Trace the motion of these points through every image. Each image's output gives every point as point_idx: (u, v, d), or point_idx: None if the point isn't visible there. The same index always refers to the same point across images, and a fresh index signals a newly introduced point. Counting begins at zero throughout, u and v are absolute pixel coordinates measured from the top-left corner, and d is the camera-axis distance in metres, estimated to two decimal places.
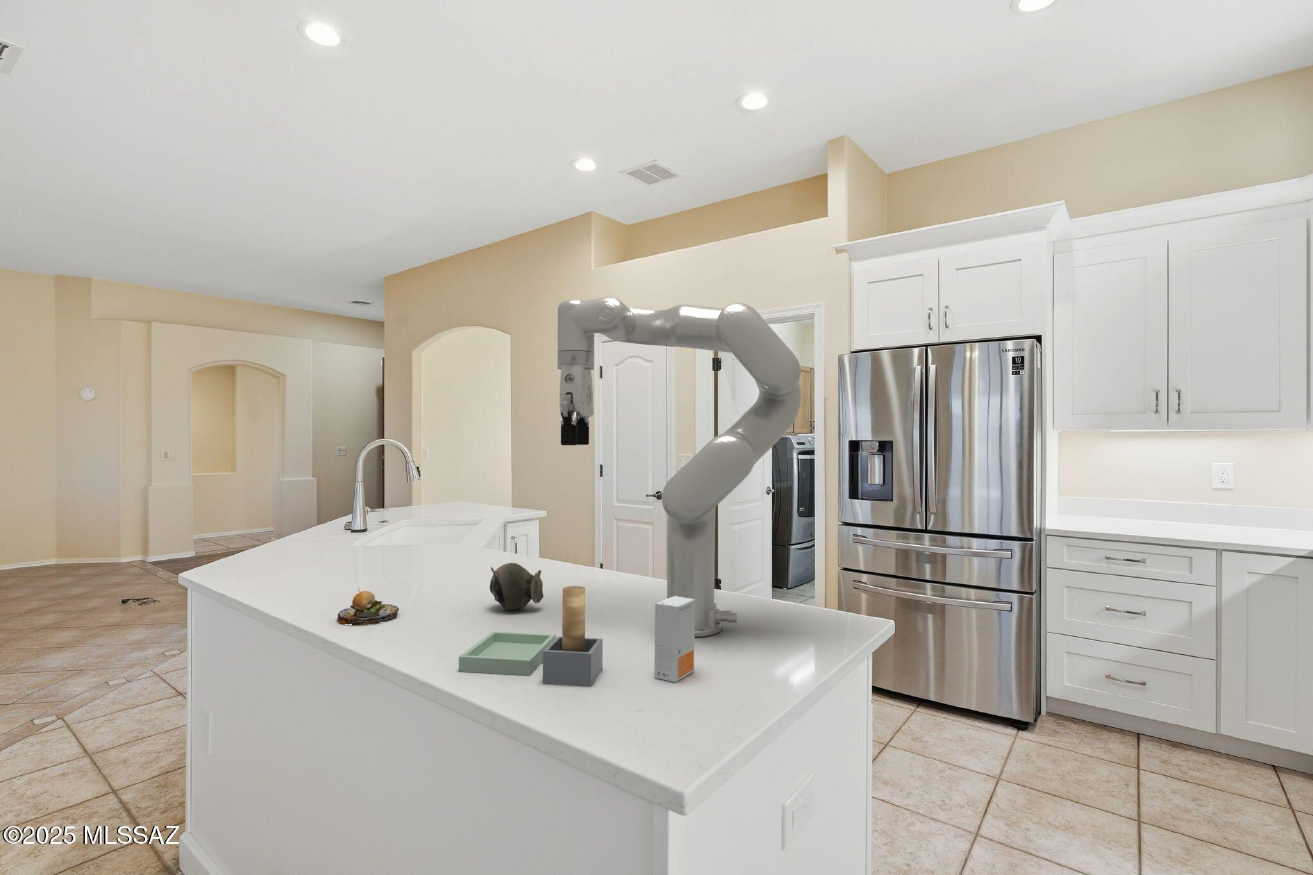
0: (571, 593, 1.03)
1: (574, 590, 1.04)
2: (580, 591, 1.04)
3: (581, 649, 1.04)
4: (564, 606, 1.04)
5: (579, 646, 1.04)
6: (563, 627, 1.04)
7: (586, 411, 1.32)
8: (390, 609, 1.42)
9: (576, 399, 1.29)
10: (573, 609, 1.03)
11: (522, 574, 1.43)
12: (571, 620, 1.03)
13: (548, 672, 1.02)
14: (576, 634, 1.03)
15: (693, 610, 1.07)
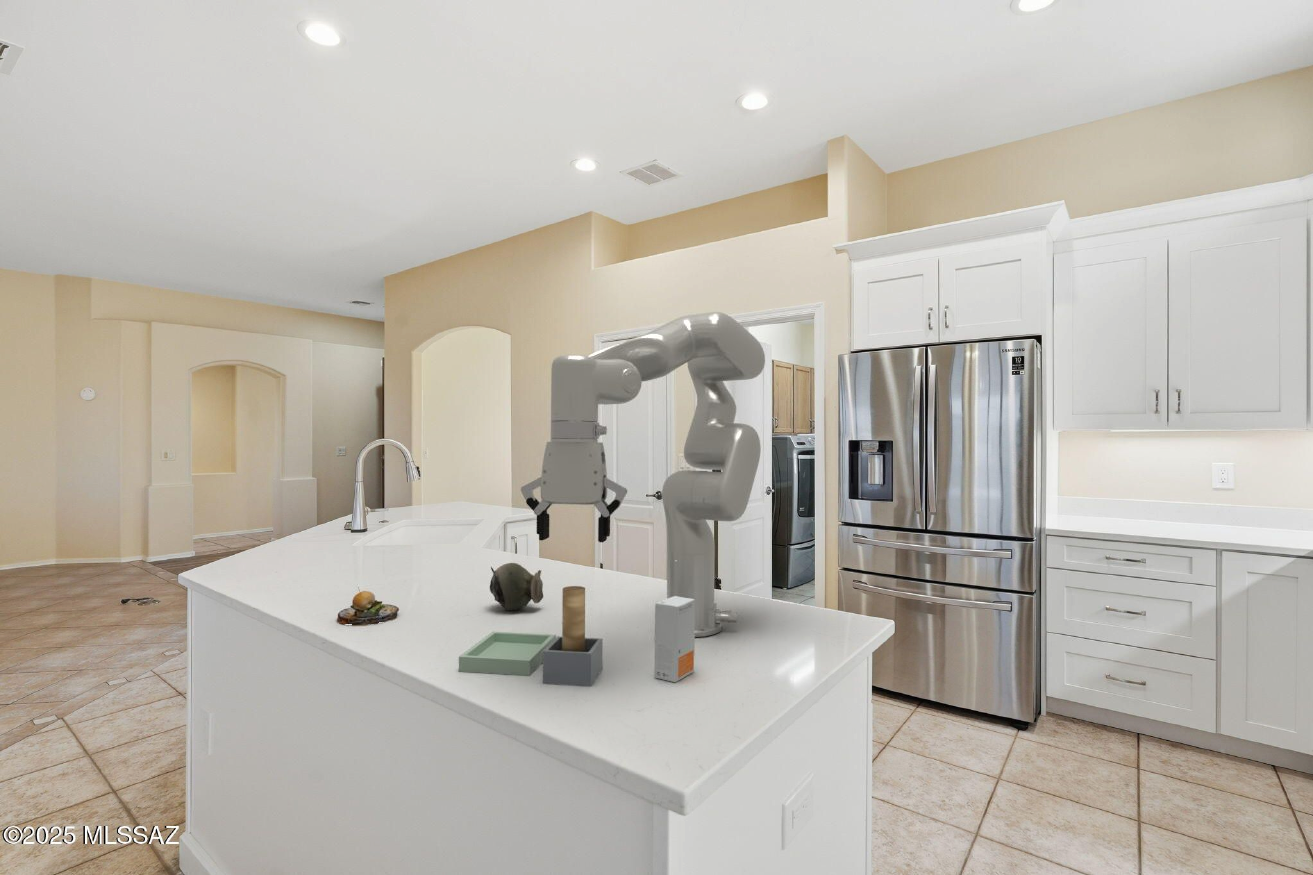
0: (571, 593, 1.03)
1: (574, 590, 1.04)
2: (580, 591, 1.04)
3: (581, 649, 1.04)
4: (564, 606, 1.04)
5: (579, 646, 1.04)
6: (563, 627, 1.04)
7: None
8: (390, 609, 1.42)
9: None
10: (573, 609, 1.03)
11: (522, 574, 1.43)
12: (571, 620, 1.03)
13: (548, 672, 1.02)
14: (576, 634, 1.03)
15: (693, 610, 1.07)
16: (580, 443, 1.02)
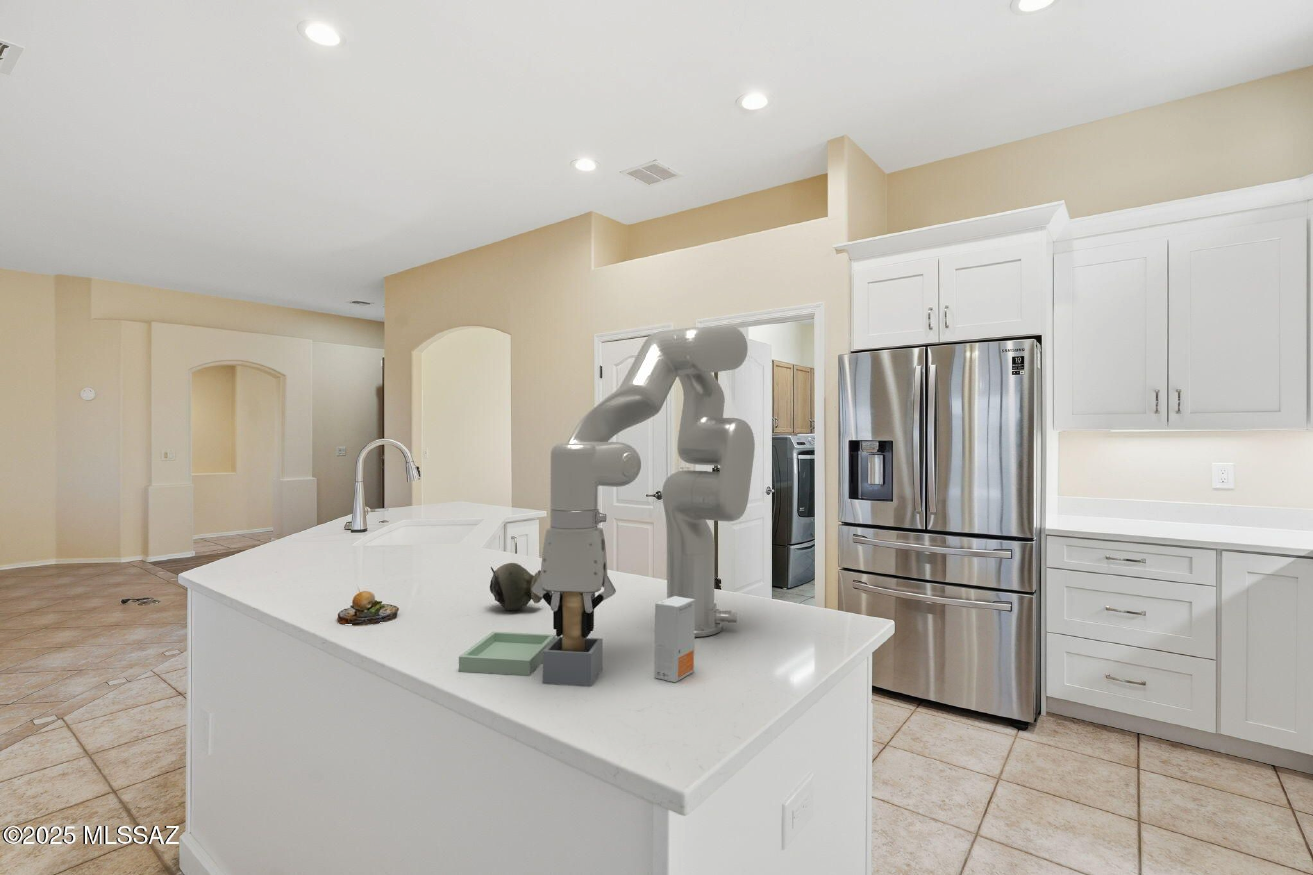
0: (571, 593, 1.03)
1: None
2: None
3: (581, 649, 1.04)
4: (564, 606, 1.04)
5: (579, 646, 1.04)
6: (563, 627, 1.04)
7: None
8: (390, 609, 1.42)
9: (606, 569, 1.06)
10: (573, 609, 1.03)
11: (522, 574, 1.43)
12: (571, 620, 1.03)
13: (548, 672, 1.02)
14: (576, 634, 1.03)
15: (693, 610, 1.07)
16: (580, 532, 1.02)
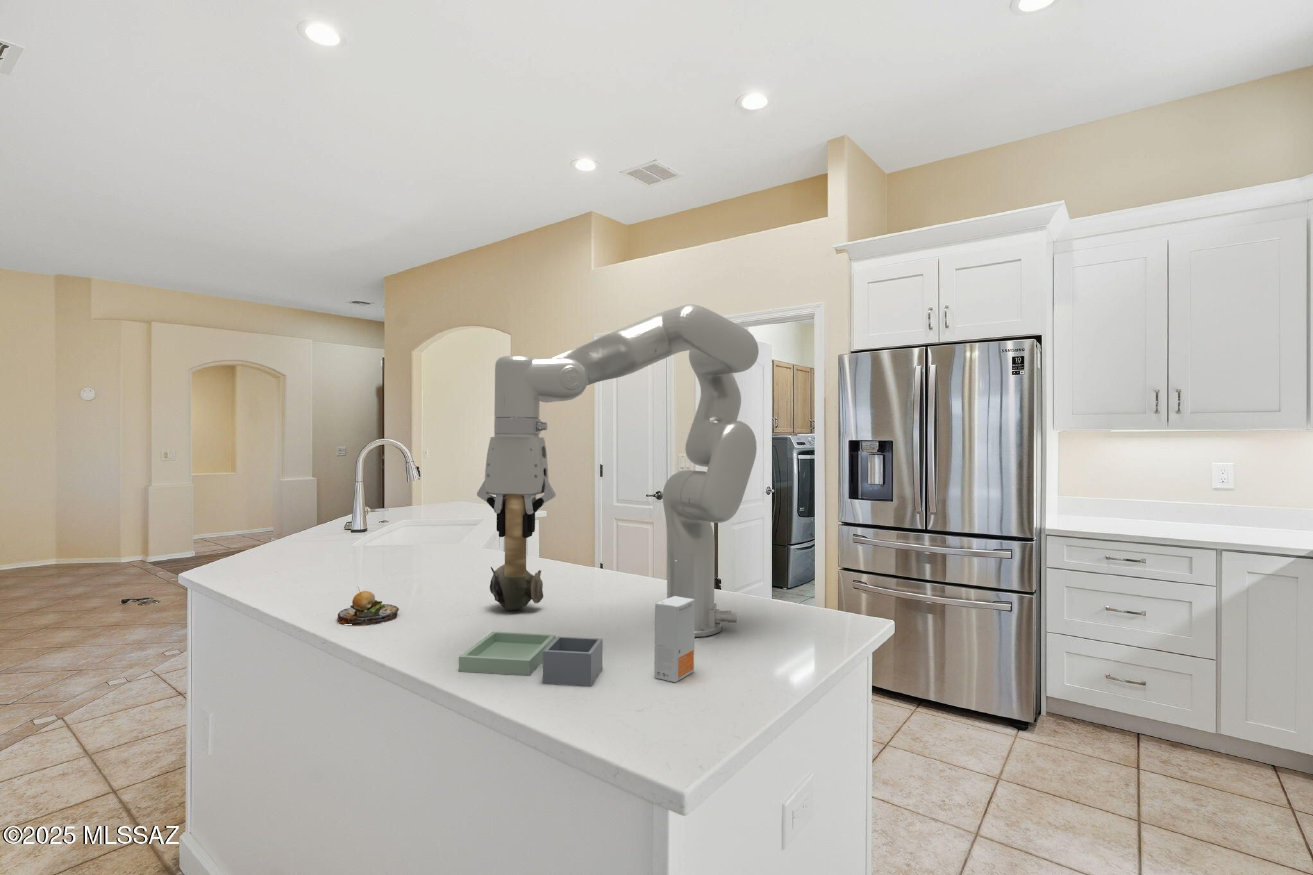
0: (513, 496, 1.10)
1: None
2: None
3: (522, 549, 1.11)
4: (506, 508, 1.11)
5: (520, 546, 1.10)
6: (505, 528, 1.11)
7: None
8: (390, 609, 1.42)
9: (547, 476, 1.13)
10: (515, 511, 1.10)
11: None
12: (512, 521, 1.10)
13: (548, 672, 1.02)
14: (517, 534, 1.10)
15: (693, 610, 1.07)
16: (521, 438, 1.09)
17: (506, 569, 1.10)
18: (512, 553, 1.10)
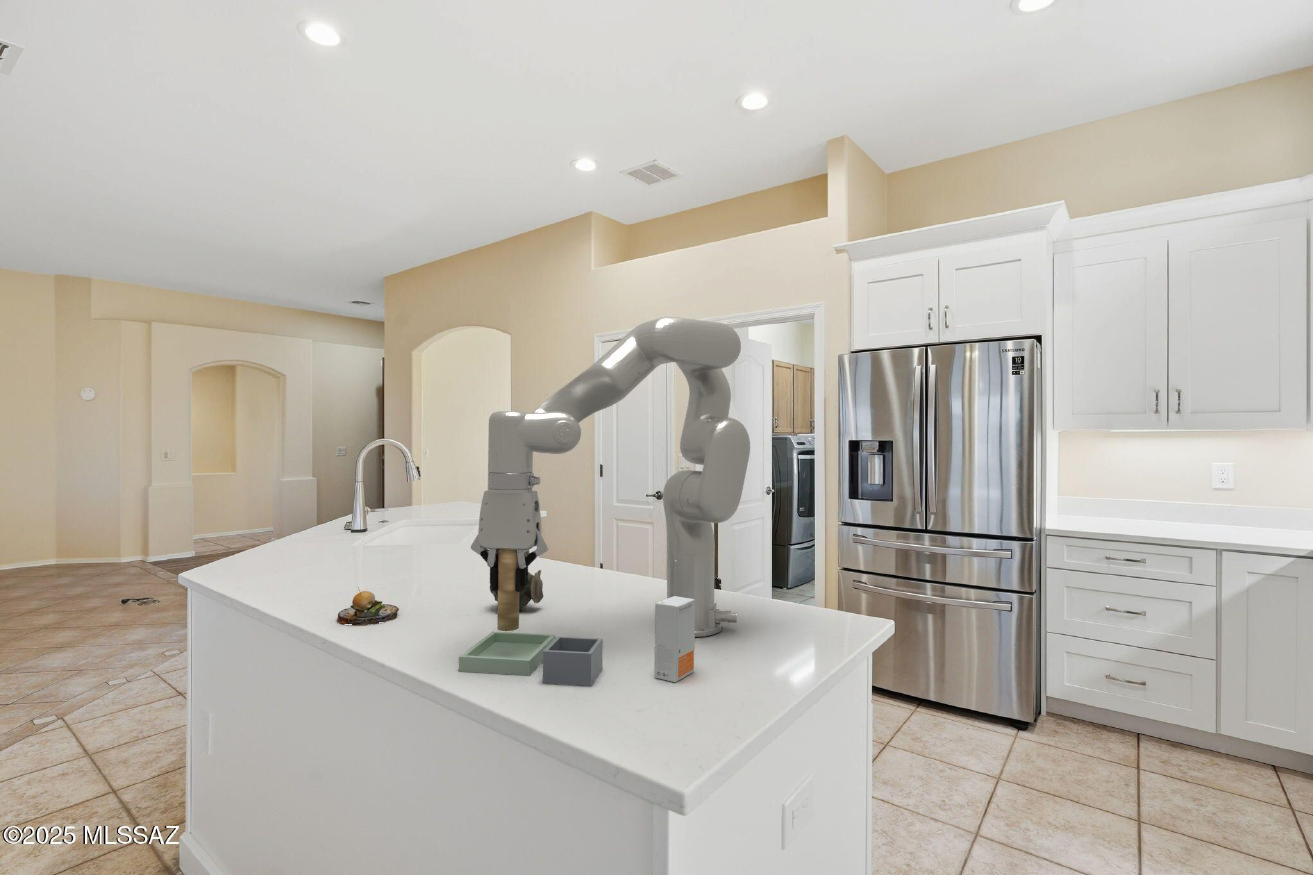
0: (505, 550, 1.11)
1: None
2: None
3: (515, 603, 1.11)
4: (499, 562, 1.11)
5: (513, 600, 1.11)
6: (498, 582, 1.12)
7: None
8: (390, 609, 1.42)
9: (540, 529, 1.14)
10: (507, 565, 1.11)
11: None
12: (505, 575, 1.11)
13: (548, 672, 1.02)
14: (510, 588, 1.11)
15: (693, 610, 1.07)
16: (514, 493, 1.10)
17: (499, 623, 1.11)
18: (505, 607, 1.11)
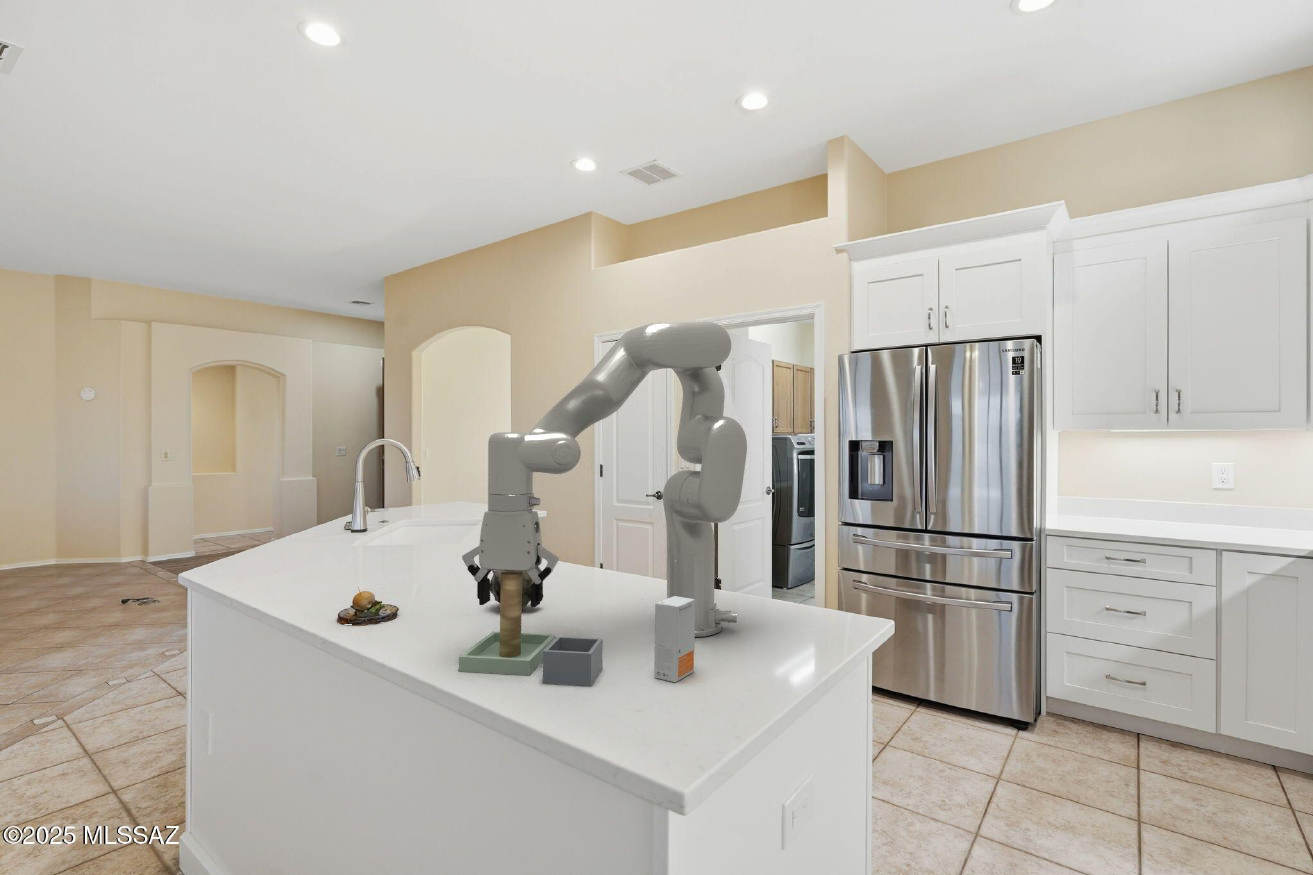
0: (508, 577, 1.11)
1: (511, 574, 1.12)
2: (517, 575, 1.12)
3: (517, 629, 1.12)
4: (502, 589, 1.12)
5: (515, 626, 1.11)
6: (500, 608, 1.12)
7: None
8: (390, 609, 1.42)
9: None
10: (510, 592, 1.11)
11: (522, 574, 1.43)
12: (507, 601, 1.11)
13: (548, 672, 1.02)
14: (512, 615, 1.11)
15: (693, 610, 1.07)
16: (514, 515, 1.10)
17: (501, 649, 1.12)
18: (507, 633, 1.11)
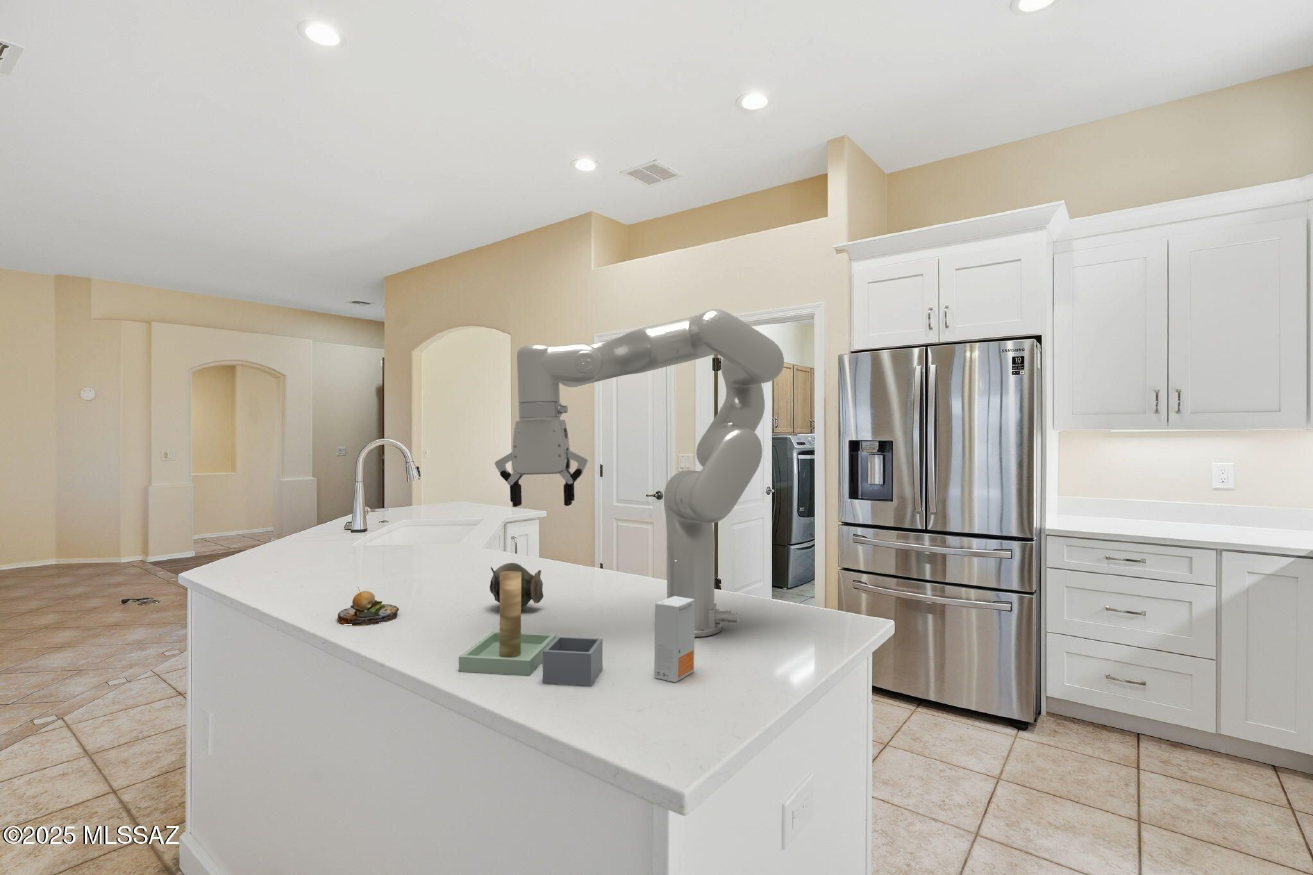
0: (507, 577, 1.11)
1: (510, 574, 1.12)
2: (516, 575, 1.12)
3: (516, 629, 1.12)
4: (501, 589, 1.12)
5: (514, 626, 1.11)
6: (500, 609, 1.12)
7: None
8: (390, 609, 1.42)
9: None
10: (509, 592, 1.11)
11: (522, 574, 1.43)
12: (507, 601, 1.11)
13: (548, 672, 1.02)
14: (511, 615, 1.11)
15: (693, 610, 1.07)
16: (545, 421, 1.18)
17: (501, 649, 1.12)
18: (507, 633, 1.11)
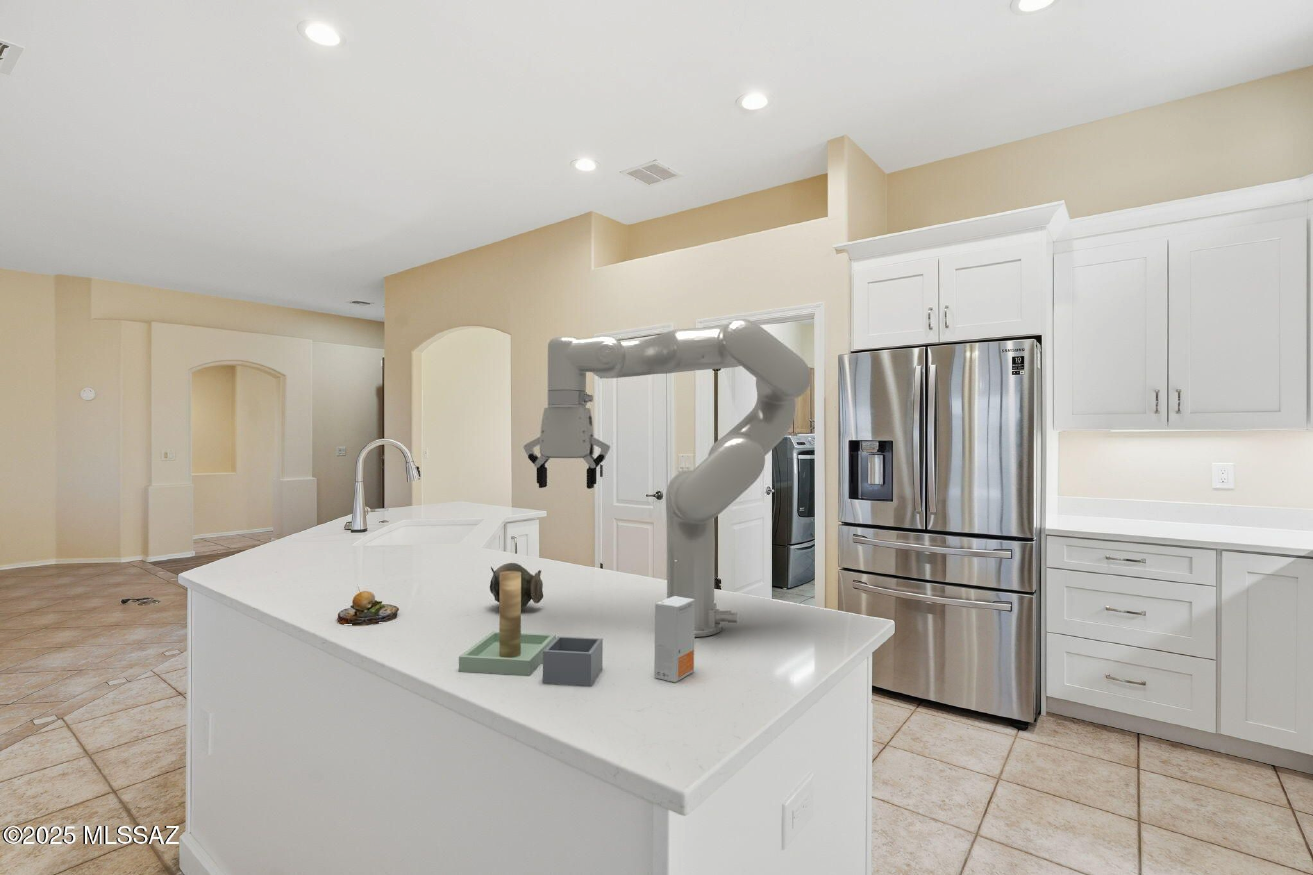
0: (506, 577, 1.11)
1: (510, 574, 1.12)
2: (515, 575, 1.11)
3: (516, 629, 1.12)
4: (501, 589, 1.12)
5: (514, 626, 1.11)
6: (500, 609, 1.12)
7: None
8: (390, 609, 1.42)
9: None
10: (509, 592, 1.11)
11: (522, 574, 1.43)
12: (506, 602, 1.11)
13: (548, 672, 1.02)
14: (511, 615, 1.11)
15: (693, 610, 1.07)
16: (571, 408, 1.26)
17: (501, 649, 1.12)
18: (507, 633, 1.11)
